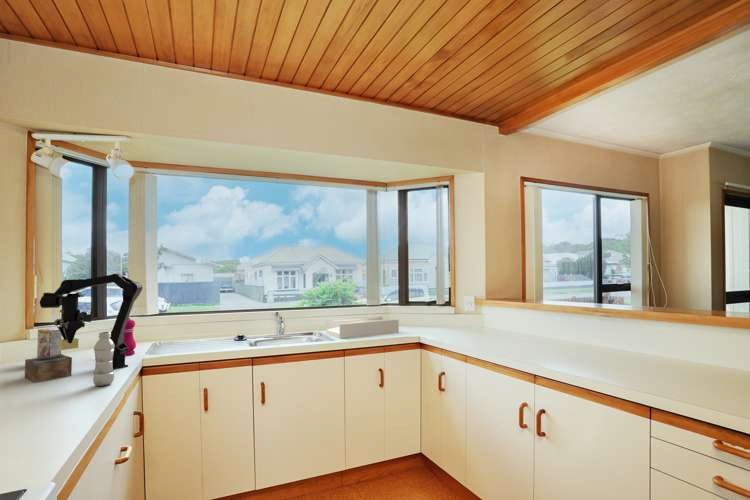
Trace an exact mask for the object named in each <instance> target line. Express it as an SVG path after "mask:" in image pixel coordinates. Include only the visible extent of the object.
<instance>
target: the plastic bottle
mask: <svg viewBox="0 0 750 500" xmlns="http://www.w3.org/2000/svg"><path fill="white" fill-rule="evenodd" d="M110 337H111V331H103V332H99V334H98V340H97V341H96V342H95V344H94V346H93V350H94V358H95V359H94V360H95V361H94V362H95V367H94V374H93V378H92V382H93V385H94V386H95V387H97V386H98V387H99V386H100V387H103V386H107V385H111V384H112V383H113V382H114V381H115V372H114V369H113V364H112V362H113V360H112V359H113V353H114V347H115V345H114V343H113V341H112V340H111V339H110Z"/></svg>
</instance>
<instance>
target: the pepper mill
mask: <svg viewBox="0 0 750 500" xmlns="http://www.w3.org/2000/svg"><path fill="white" fill-rule="evenodd" d="M135 326H136V322H135V320H133V319H132V318H131V316H129V317H128V320H127V323H126V326H125V329H124V341H123V342H124V343H125V344H126V345H127V346H128V347H129V348H128V351H127V352H125V357H131V356H134V355H135V353H136V352H135V351H136V350H135V349H136V348H137V344H136V341H135V338H134V334H133V333H134V332H135V331H134V330H135Z"/></svg>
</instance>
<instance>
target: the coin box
mask: <svg viewBox="0 0 750 500" xmlns="http://www.w3.org/2000/svg"><path fill="white" fill-rule="evenodd" d="M24 362H25V363H24V365H25V366H24V379H26V380H28V381H29V382H33V383H34V384H35V383H39V382H44V381H49V380H57V379H61V378H65V377H70V376H72V369H73V368H72V366H73V357H72V356H68V355H66V354H62V353H61V354H60V355H53V356H46V357H39V358H37V357H33V358H29V359H28V358H26V359H25V360H24Z"/></svg>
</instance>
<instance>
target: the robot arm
mask: <svg viewBox="0 0 750 500" xmlns="http://www.w3.org/2000/svg"><path fill="white" fill-rule="evenodd" d="M112 283H114V284H115V285H116V286H117V287H118V288H120V289H121V290H122V302H121V305H120V307H119V310H118V314H117V315H116V319H115V321H114V325H113V327H112V330H111V331H110V332H111V337H110V339H111V340H112V341H113V343H114V345H115V347H114V353H113V359H112V360H113V362H112V364H113V370H117V369H121V368H126V367H129V365H128V364H126V356H125V352H127V351H128V348H129V347H128V346H127V345H126V344H125V343H124V342H123V341H124V329H125V326H126V323H127V320H128V317H130V314H131V311H132V309H133V307H134V303H135V301H136V300H137V299H138V297H140V295H141V293H142V291H143V289H144V288H143V285H142V283H140V282H138V281H133V280H132V279H130V278H128V277H126V276H124V275H123V274H121V273H112V274H108V275H102V276H97V277H90V278H81V279H80V278H79V279H73V278H72V279H65V280H63V281H61V283H60V286H59V287H58V288H57V289H56V290H55V292H43V294H42V296H41V297H40V300H39V306H40V307H41V309H57V308H58V309H59V308H60V307H61V309H60V310H59V312H60V313H61V317H60V318H57V319H55V320H54V323H53V324H54V326H56V329H59V331H60V333H61V338H63V339H67V340H68V343H72V341H73V339H74V338H75V335H76V333H77V331H79V329H81V328H85V326H86V324H85V322H86V323H91V322H92V320H93V317H94V315H91V314H88V312H87V311H81V309H79V298H83V297H85V295H84V294H83V293H81V291H82V290H85V289H88V288H90V287H96V286H102V285H107V284H112ZM63 339H62V340H63Z"/></svg>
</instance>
